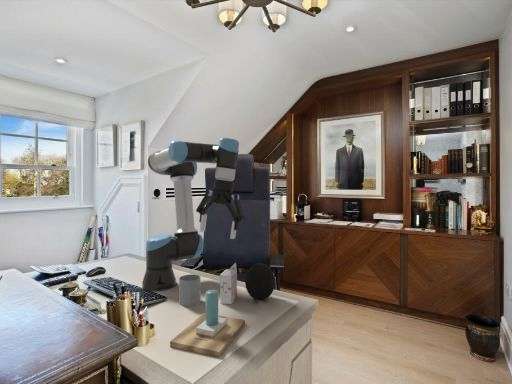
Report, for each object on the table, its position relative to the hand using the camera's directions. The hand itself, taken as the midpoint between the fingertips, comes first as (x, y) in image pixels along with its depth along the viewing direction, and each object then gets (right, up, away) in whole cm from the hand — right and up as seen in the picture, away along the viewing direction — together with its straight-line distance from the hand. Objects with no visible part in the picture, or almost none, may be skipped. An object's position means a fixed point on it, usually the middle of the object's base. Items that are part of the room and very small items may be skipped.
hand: (217, 234), depth 110 cm
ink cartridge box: (+4, -29, +9) cm, 30 cm away
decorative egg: (+17, -28, +10) cm, 34 cm away
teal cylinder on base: (+1, -27, -18) cm, 33 cm away
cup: (-12, -29, +7) cm, 32 cm away
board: (0, -29, -18) cm, 34 cm away
